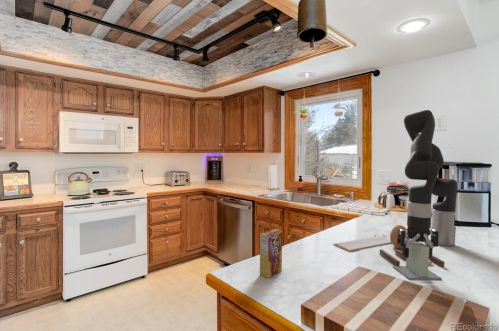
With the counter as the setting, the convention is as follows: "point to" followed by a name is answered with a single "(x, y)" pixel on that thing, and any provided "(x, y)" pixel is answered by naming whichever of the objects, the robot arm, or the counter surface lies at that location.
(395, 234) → the egg
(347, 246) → the baseboard molding
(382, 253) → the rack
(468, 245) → the counter surface
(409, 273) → the rubber mat
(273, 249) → the candy box
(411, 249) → the pale green block
